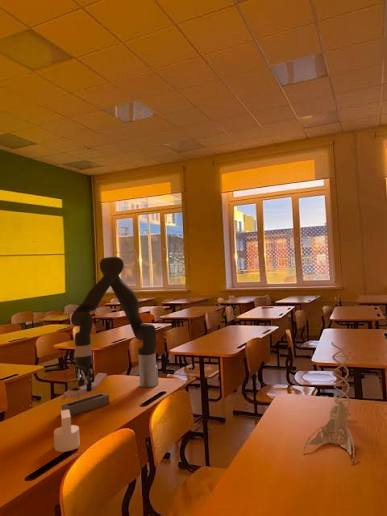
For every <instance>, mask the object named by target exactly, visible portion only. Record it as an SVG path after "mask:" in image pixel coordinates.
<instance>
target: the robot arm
mask: <svg viewBox="0 0 387 516" xmlns="http://www.w3.org/2000/svg"><path fill="white" fill-rule="evenodd" d="M99 269H100V271H101V273H102V275H103V276H102V277H101V279H99V281H97V282H96V283H95V285H94V286H93V287H91V289H90V290H89V291H88V293H87V294H86V296H85V298H84V300H83V301H82V302H81V304H79V306H78V307H76V308H75V310H74V311H73V313H72V314H71V317H70V323H71V324H72V325H73V326H74V327H79V330H78V331H77V332H76V333H75V335H74V346H75V347H74V356H75V357H74V358H75V366H74V374H75V379H77V381H78V387H81V386H84V385H86V386H87V392H90V391H92V384H91V383H92V382H94V378H95V369H94V368H93V369H91V365H92V364H93V353H92V352H93V351H92V350H93V349H92V345H91V344H92V343H91V341H92V339H91V334H92V329H93V322H94V321H93V316H92V314H91V313H92V312H94V311H96V309H97V308H98V306H99V305H100V303H101V301H102V299H103V297H104V296H105V294H106V293H107V291H108V290H109V288H110V287H111V290H112V292H113V293H114V295H115V297H116V299H117V301H118V303H119V305H120V307H121V309H122V310H123V312H124V314H125V316H126V319H127V320H128V322H129V325H130V327H131V330H132V333H133V335H134V337H135V338H136V339H137V340H138V341H142V346H141V347H139V348H138V350H137V353H138V355H137V356H138V370H139V371H138V372H139V373H138V375H139V386H140V387H141V388H146V387H147V388H152V387H156V386H157V385H159V370H158V369H159V368H158V365H157V362H156V361H157V359H156V356H157V355H156V349H157V330H156V327H155V325H153V324H150V323H144V321H143V320H142V318H141V316H140V312H139V311H140V304H139V299H138V298H137V296H136V294H135V292H134V290H133V288H131V287H130V286H129V285H128V284H127V283H125V281H124V280H123V279H122V278H121V277H120V274H121V273H122V272H123V270H124V261H123V259H122V258H121V257H120V256H109V257H103V258H101V260H100V261H99ZM84 380H85V382H84ZM85 383H86V384H85ZM92 392H93V391H92ZM90 393H91V392H90Z"/></svg>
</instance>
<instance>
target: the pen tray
mask: <svg viewBox="0 0 387 516" xmlns="http://www.w3.org/2000/svg"><path fill="white" fill-rule="evenodd" d="M108 403H109V404H110V395H109V394H107V393H104V392H99V393H95V394H92V395H89V396H85V397H82V398H78V399H77V400H73V401H69V402H67V403H62V404H61V411H62V410H68V409H69V411H70V416H71V417H72V416H76V415H80V414H82V413H85V412H89V411H91V410H93V409H97V408H99V406H100V407H103V406H106V405H109V404H108ZM105 404H106V405H105ZM102 405H103V406H102ZM96 407H97V408H96Z"/></svg>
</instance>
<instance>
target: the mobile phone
mask: <svg viewBox="0 0 387 516" xmlns="http://www.w3.org/2000/svg"><path fill="white" fill-rule="evenodd" d="M107 375H108V373H105V372H104V373H103V372H98V373H97V374H96V375H94V382H92V383H91V384H92V391H90V392H87V386H86V384H84V386H81V387H79V386H78V387H73V388H70V389H68V390H66V391H64V394H63V396H62V397H60V400H65V399H66V398H68V399H76V398H80V397H82V396H85V395H87V394H90V393H92V392H94V391H96V390H97V389H98V386H99V385H100V384H101V383H102V381H104V379H105V378H106V377H107Z"/></svg>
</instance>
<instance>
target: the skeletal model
mask: <svg viewBox="0 0 387 516" xmlns="http://www.w3.org/2000/svg"><path fill="white" fill-rule="evenodd" d="M338 400H339V401H337V402H338V404H337V405H335V406H333V407H331V408H330V410H329V413H330V415H329V419H328V421H327V422H326V424H324V425H322V426H320V427H318V428H317V429H315V431H314V432H312V433H311V435H310V436H309V437H308V438H307V440H306V442H305V444H304V446H303V450H302V453H303V455H305V451H306V447H307V446H312V445H315V446H318V445H320V444H329V443H331V444H337V445H338V446H339V445H340V446H339V447H341V448H343V449H345V450H347V453H349V456H351V455H352V454H353V455H352V460H351V463H350V465H351V464H352V465H353V463H354V459H355V446H354V445H355V444H354V440H353V437H352V434H351V432H350V430H349V428H348V425H347V419H348V418H349V412H350V410H349V409H348V408H346V407H347V406H345V403H344V401H342V400H341V399H338ZM340 400H341V401H340ZM346 410H347V411H348V412H347V411H346ZM315 433H317V434H316V435H315ZM314 435H315V437H314V438H312V437H313V436H314ZM311 438H312V439H311ZM338 438H339V439H338ZM351 444H352V445H351ZM352 449H353V451H352Z"/></svg>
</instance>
